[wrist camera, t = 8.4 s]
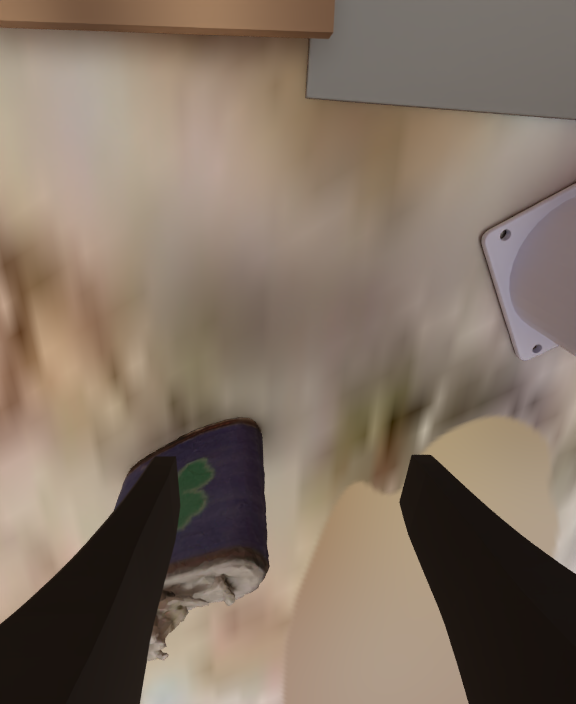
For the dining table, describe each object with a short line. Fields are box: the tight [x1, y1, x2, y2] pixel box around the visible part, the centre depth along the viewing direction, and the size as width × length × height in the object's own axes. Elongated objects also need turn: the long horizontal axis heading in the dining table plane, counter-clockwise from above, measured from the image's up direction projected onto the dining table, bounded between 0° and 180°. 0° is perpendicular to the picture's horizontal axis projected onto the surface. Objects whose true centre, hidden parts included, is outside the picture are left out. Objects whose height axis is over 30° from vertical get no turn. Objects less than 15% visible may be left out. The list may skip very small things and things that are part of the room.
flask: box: [114, 417, 269, 661], centre depth 19 cm, size 9×3×11 cm, turn 116°
